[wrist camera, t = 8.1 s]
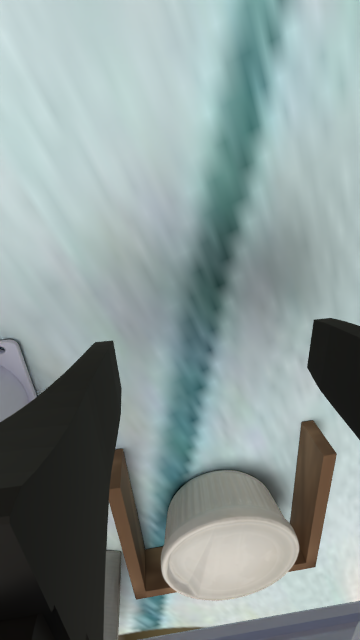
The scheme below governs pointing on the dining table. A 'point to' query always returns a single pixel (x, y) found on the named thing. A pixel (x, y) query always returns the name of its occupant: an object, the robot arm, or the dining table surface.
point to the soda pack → (112, 595)
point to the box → (305, 520)
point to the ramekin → (225, 538)
